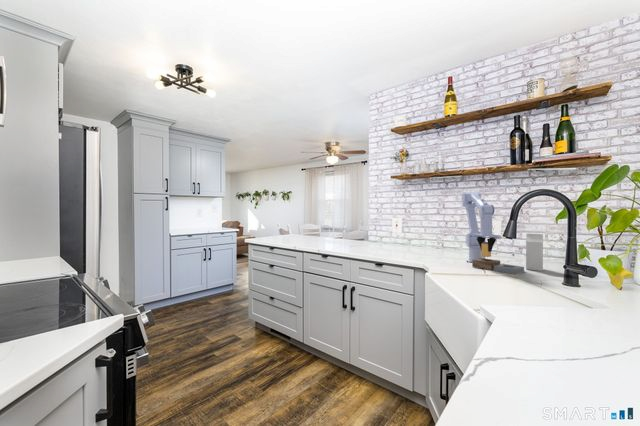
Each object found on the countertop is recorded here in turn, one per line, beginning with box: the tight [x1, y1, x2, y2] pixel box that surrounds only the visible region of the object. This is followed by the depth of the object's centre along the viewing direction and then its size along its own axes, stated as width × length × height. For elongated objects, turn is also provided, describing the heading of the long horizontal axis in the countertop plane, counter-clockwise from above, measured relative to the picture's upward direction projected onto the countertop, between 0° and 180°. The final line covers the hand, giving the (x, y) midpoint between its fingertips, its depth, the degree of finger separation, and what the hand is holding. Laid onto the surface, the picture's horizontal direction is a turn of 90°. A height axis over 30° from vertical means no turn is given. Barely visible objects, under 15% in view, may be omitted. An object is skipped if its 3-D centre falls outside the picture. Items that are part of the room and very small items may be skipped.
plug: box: [482, 241, 492, 258], centre depth 161 cm, size 3×3×8 cm
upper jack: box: [471, 257, 501, 271], centre depth 161 cm, size 10×10×4 cm
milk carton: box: [525, 233, 544, 272], centre depth 155 cm, size 7×7×19 cm
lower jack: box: [493, 263, 525, 275], centre depth 151 cm, size 10×10×2 cm
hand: (486, 251), depth 161 cm, fingers closed on plug, 3 cm apart
